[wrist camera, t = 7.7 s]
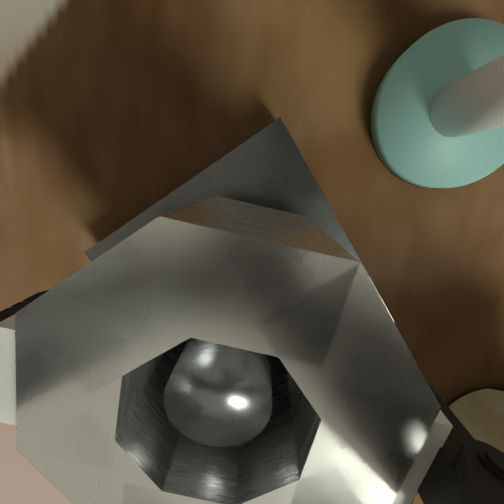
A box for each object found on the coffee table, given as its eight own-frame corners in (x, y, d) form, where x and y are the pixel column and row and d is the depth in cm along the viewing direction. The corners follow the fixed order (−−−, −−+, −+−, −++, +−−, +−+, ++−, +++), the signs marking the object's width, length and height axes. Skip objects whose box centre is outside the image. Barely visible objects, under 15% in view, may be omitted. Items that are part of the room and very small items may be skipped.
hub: (278, 123, 14) (307, 19, 5) (382, 309, 16) (533, 471, 7) (100, 245, 16) (-114, 333, 7) (216, 394, 18) (171, 604, 9)
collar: (150, 180, 11) (13, 182, 5) (372, 231, 11) (499, 294, 5) (127, 370, 13) (17, 524, 7) (310, 410, 13) (346, 592, 7)
